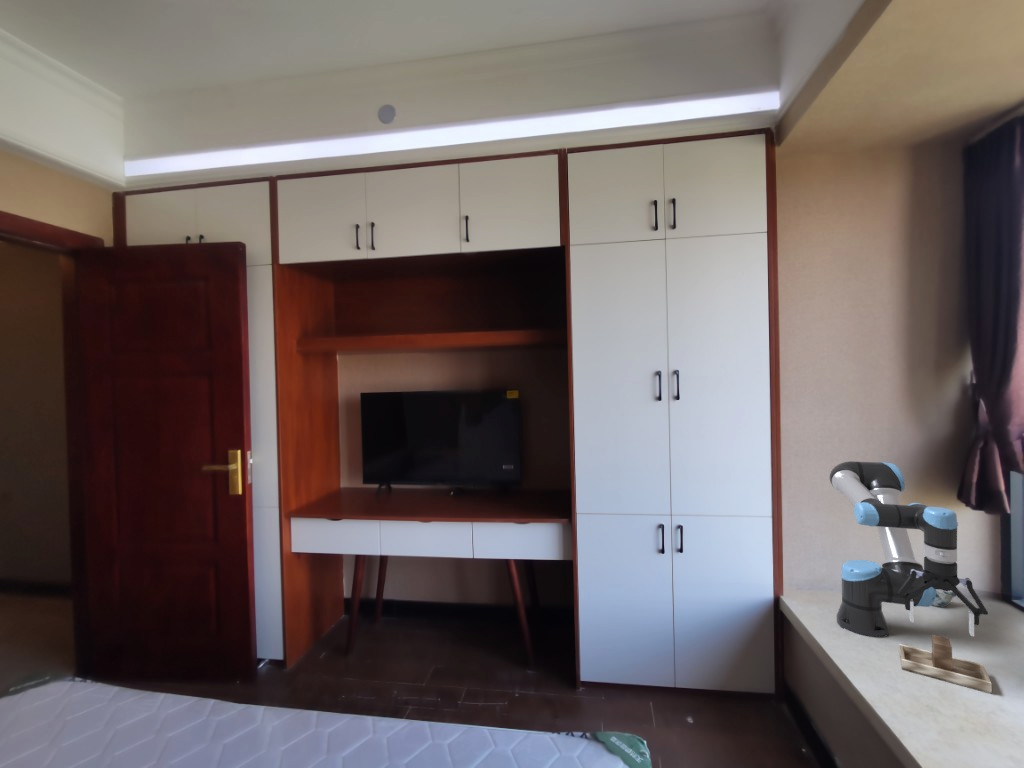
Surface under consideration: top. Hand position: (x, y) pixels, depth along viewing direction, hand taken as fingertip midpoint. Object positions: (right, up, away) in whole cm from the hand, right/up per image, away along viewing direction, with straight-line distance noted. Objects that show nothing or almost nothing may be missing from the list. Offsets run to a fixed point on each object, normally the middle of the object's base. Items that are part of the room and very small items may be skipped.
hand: (940, 627), depth 142 cm
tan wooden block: (0, -13, 0) cm, 13 cm away
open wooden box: (0, -14, 0) cm, 14 cm away
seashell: (+41, -11, +38) cm, 57 cm away
